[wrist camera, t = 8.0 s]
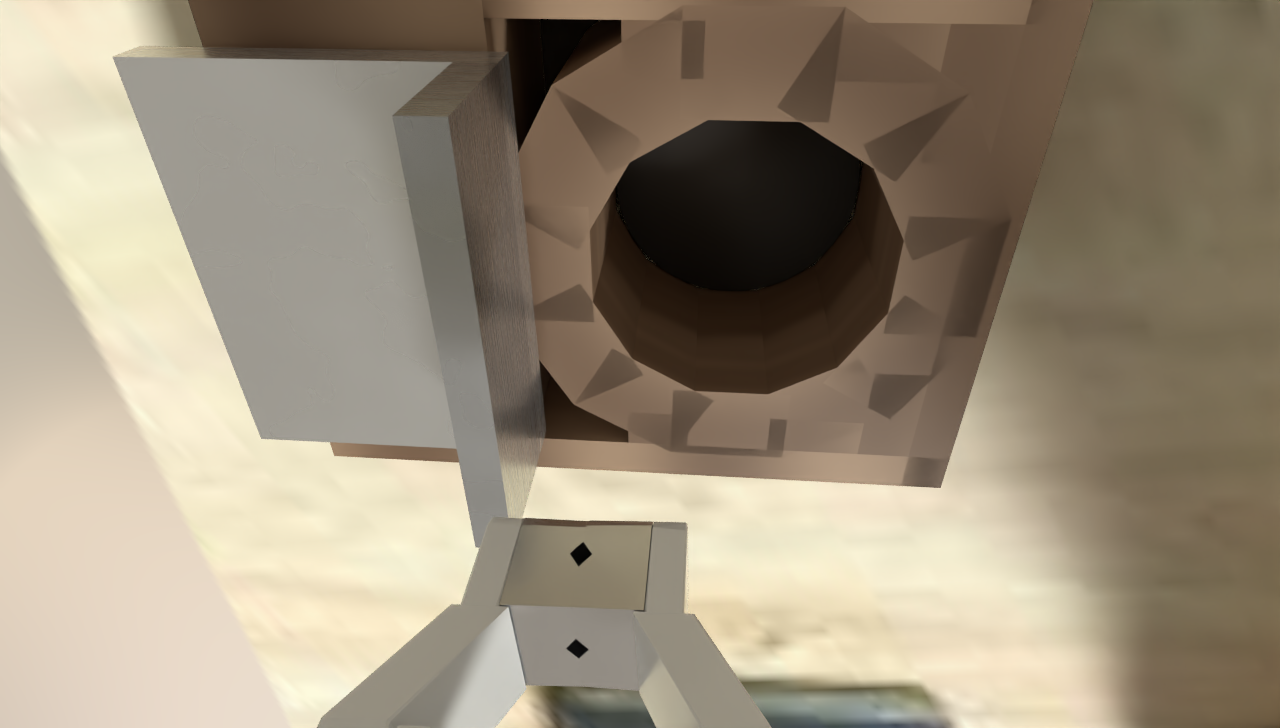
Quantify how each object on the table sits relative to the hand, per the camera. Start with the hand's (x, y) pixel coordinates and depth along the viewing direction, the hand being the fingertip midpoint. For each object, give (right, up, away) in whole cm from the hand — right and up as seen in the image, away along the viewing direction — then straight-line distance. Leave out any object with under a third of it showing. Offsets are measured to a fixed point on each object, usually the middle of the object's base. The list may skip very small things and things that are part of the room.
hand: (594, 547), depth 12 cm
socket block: (+1, +8, +9) cm, 12 cm away
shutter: (-5, +5, +5) cm, 9 cm away
